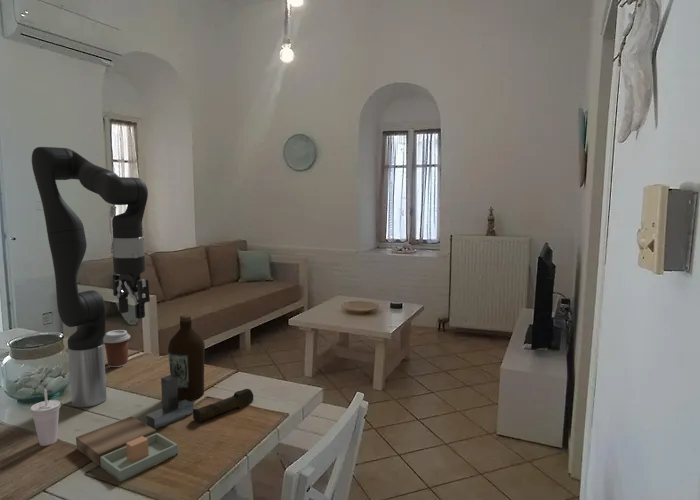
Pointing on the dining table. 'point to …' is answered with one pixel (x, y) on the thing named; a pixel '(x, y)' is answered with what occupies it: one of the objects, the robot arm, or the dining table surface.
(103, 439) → the brown slab
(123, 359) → the coffee cup
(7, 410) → the dining table surface
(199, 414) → the hand tool
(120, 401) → the dining table surface
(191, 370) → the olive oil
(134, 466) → the box
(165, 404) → the scraper
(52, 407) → the smoothie
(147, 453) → the tile
